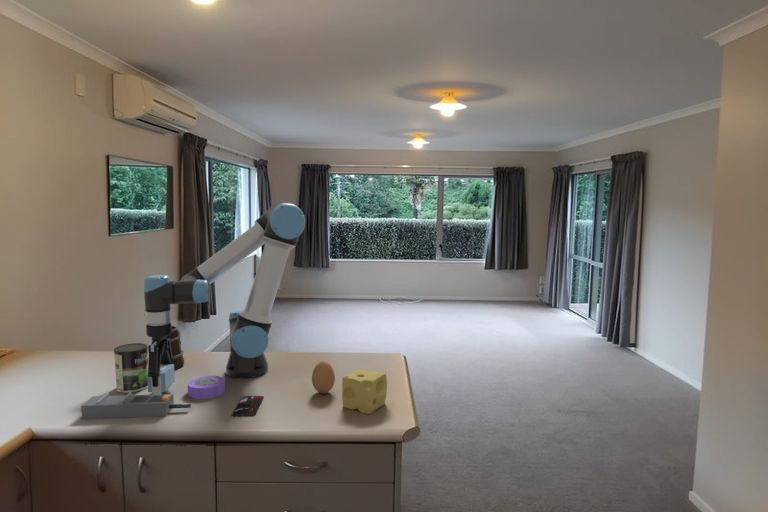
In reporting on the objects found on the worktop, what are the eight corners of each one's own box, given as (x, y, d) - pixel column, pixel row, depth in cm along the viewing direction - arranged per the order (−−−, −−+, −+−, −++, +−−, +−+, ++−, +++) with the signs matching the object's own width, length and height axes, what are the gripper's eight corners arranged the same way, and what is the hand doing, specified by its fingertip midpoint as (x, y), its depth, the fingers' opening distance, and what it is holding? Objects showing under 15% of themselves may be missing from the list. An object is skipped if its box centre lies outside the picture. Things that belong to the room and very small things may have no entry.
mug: (176, 372, 190) (174, 332, 188) (144, 371, 191) (142, 332, 189) (194, 358, 205) (192, 322, 204) (165, 357, 206) (163, 321, 204)
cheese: (369, 415, 153) (369, 383, 152) (340, 407, 159) (340, 376, 158) (387, 403, 162) (387, 373, 161) (359, 396, 168) (359, 366, 167)
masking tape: (183, 390, 172) (183, 379, 172) (218, 383, 179) (217, 372, 179) (193, 402, 163) (193, 390, 162) (229, 393, 170) (229, 382, 169)
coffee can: (156, 383, 179) (154, 343, 177) (136, 394, 169) (133, 352, 167) (130, 380, 181) (127, 342, 179) (109, 391, 171) (106, 350, 169)
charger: (174, 381, 173) (174, 363, 172) (165, 391, 164) (164, 372, 164) (158, 381, 173) (157, 363, 172) (148, 392, 164) (147, 373, 163)
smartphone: (230, 416, 152) (242, 395, 167) (230, 418, 152) (242, 397, 167) (255, 415, 152) (264, 395, 167) (255, 417, 152) (264, 397, 167)
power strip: (193, 405, 160) (193, 390, 159) (187, 415, 153) (186, 399, 152) (93, 408, 157) (92, 393, 156) (82, 418, 150) (80, 402, 150)
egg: (325, 386, 176) (325, 356, 174) (339, 392, 170) (339, 361, 169) (307, 392, 170) (306, 361, 169) (321, 399, 165) (321, 366, 164)
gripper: (158, 315, 176) (161, 378, 179) (133, 332, 155) (137, 403, 158) (181, 314, 177) (183, 377, 180) (158, 331, 156) (162, 402, 158)
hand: (162, 389), depth 169 cm, fingers closed on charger, 9 cm apart
